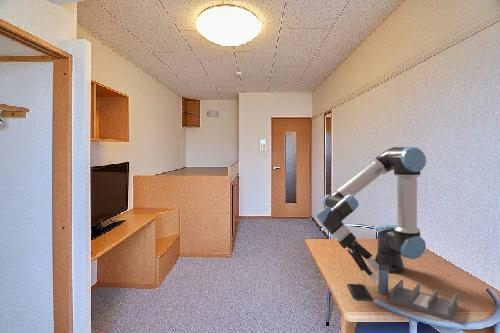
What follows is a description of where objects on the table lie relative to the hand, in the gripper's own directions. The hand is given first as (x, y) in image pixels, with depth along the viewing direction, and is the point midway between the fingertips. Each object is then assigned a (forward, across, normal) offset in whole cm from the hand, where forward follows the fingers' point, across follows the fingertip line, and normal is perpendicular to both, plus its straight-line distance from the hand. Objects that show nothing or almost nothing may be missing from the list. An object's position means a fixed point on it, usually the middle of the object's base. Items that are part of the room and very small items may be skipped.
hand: (378, 275), depth 141 cm
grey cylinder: (+7, -1, -4) cm, 8 cm away
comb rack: (+18, +3, +7) cm, 20 cm away
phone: (+1, +4, -11) cm, 12 cm away
